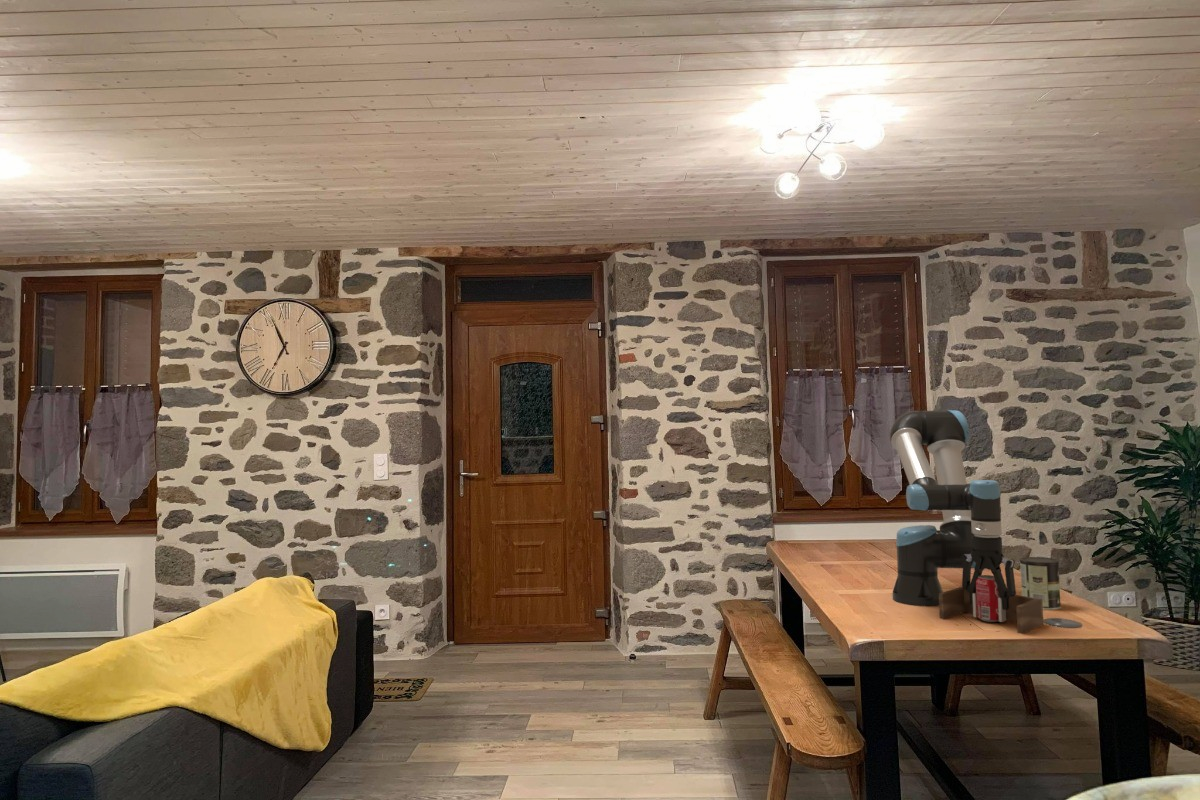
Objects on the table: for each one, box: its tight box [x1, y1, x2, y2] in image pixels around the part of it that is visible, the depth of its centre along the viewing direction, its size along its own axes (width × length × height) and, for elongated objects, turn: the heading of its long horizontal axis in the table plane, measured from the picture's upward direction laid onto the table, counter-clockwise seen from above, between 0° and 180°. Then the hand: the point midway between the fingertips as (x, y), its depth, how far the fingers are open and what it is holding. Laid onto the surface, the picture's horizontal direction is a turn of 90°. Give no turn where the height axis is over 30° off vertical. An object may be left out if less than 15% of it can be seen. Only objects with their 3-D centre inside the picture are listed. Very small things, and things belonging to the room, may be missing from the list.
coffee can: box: [1019, 556, 1062, 611], centre depth 224 cm, size 10×10×14 cm
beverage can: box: [976, 574, 1001, 623], centre depth 207 cm, size 6×6×12 cm
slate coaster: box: [1043, 617, 1083, 629], centre depth 203 cm, size 9×9×1 cm
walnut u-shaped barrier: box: [938, 586, 1044, 635], centre depth 207 cm, size 22×14×7 cm, turn 39°
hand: (989, 618), depth 207 cm, fingers closed on beverage can, 6 cm apart
